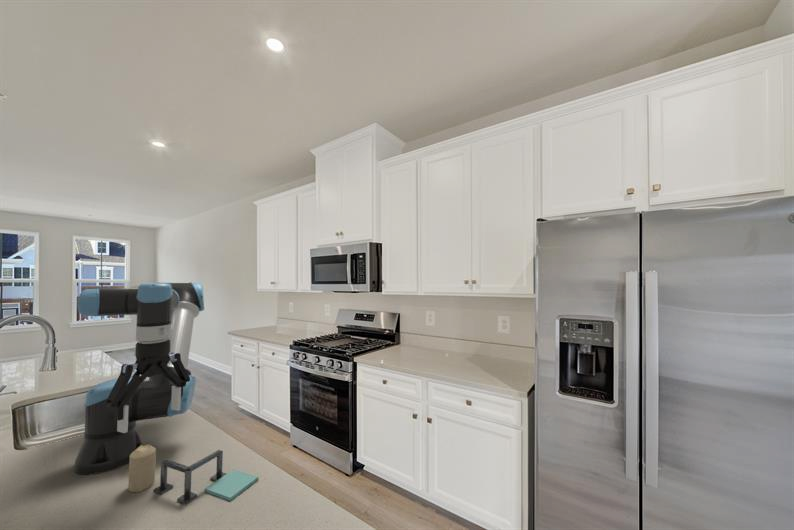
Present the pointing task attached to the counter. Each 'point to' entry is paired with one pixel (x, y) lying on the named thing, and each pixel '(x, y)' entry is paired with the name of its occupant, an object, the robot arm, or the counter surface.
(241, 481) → the pad
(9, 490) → the counter surface
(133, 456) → the candle
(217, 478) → the handrail
